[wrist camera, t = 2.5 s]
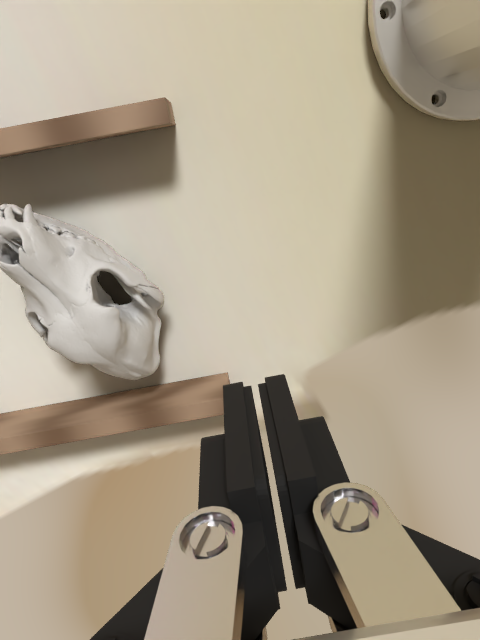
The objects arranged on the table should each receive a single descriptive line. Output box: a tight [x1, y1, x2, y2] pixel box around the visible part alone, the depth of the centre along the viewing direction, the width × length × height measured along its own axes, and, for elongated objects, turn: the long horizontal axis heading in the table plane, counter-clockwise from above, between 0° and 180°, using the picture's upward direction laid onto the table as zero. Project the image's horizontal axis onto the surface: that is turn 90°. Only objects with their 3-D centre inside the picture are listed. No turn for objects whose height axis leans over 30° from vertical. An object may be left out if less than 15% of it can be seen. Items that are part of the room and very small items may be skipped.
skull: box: [0, 204, 164, 380], centre depth 26 cm, size 8×9×12 cm
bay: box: [0, 97, 230, 455], centre depth 28 cm, size 24×19×5 cm
